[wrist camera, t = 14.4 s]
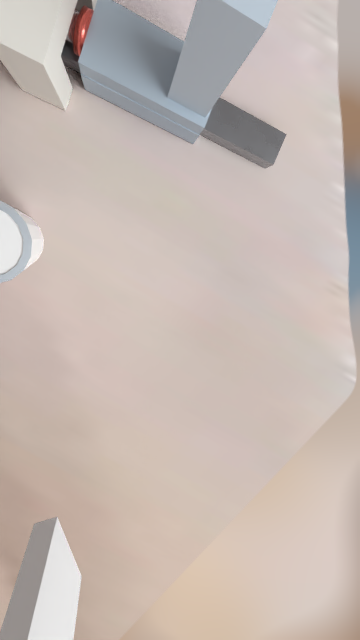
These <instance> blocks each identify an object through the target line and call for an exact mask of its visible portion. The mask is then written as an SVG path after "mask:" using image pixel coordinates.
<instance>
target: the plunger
mask: <svg viewBox="0 0 360 640" xmlns="http://www.w3.org/2000/svg"><path fill="white" fill-rule="evenodd" d="M93 12H94V10H92V9H90V8H89V7H87V6H83V7H82V8H81V10H80V13H78V12H77V11H74V14H73V17H72V20H71V24H70V27H69V30H68V34H67V37H66V40H68V41H69V42H71V43H73V51H74V54H76V55H78V56H80V54H81V51H82V48H83V44H84V41H85V38H86V35H87V32H88V28H89V25H90V22H91V19H92V16H93Z"/></svg>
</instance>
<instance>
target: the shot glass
mask: <svg viewBox="0 0 360 640" xmlns="http://www.w3.org/2000/svg"><path fill="white" fill-rule="evenodd" d="M43 243H44V238H43V235H42V232H41V229H40V227H39V226H38V225H37V223H36V222H35V221H34V220H33V219H32V218H31V217H29V216H28V215H26V214H24V213H22V212H21V211H19V210H17V209H15V208H13V207H11V206H10V205H8V204H6V203H4V202H2V201H0V283H1V282H5V281H9V280H12V279H13V278H14V277H15V276H17V275H18V274H19V273H21V272H22V271H23V270H25V269H26V268H27V267H28V266H30V265H31V264H32V263H34V262H35V261H36V260H38V258H39V256H40V255H41V253H42V251H43Z"/></svg>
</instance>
